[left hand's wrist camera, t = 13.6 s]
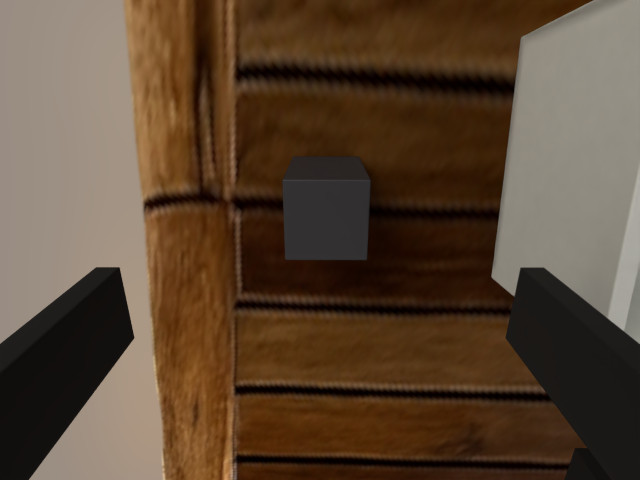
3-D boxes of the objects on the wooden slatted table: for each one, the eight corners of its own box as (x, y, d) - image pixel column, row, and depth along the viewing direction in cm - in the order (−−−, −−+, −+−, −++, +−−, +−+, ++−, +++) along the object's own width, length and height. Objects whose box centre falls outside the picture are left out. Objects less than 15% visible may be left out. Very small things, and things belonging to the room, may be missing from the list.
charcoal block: (359, 156, 26) (371, 179, 19) (357, 219, 28) (367, 260, 21) (292, 156, 26) (282, 179, 20) (294, 219, 28) (285, 260, 21)
